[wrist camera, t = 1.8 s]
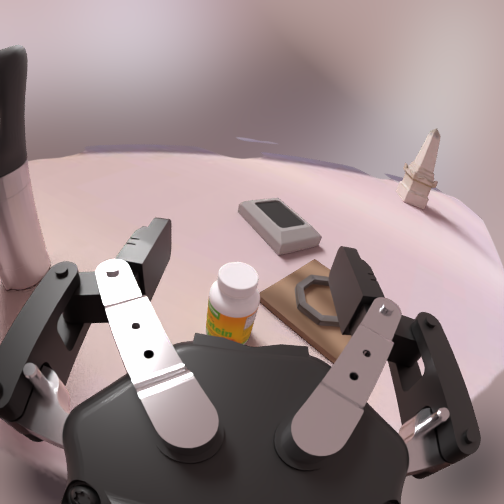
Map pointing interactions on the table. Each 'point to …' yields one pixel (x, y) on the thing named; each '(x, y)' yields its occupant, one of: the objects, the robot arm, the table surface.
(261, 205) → the grey flat boxy piece
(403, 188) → the miniature monument
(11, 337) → the robot arm
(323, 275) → the carrier plate
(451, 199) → the table surface
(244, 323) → the supplement bottle
